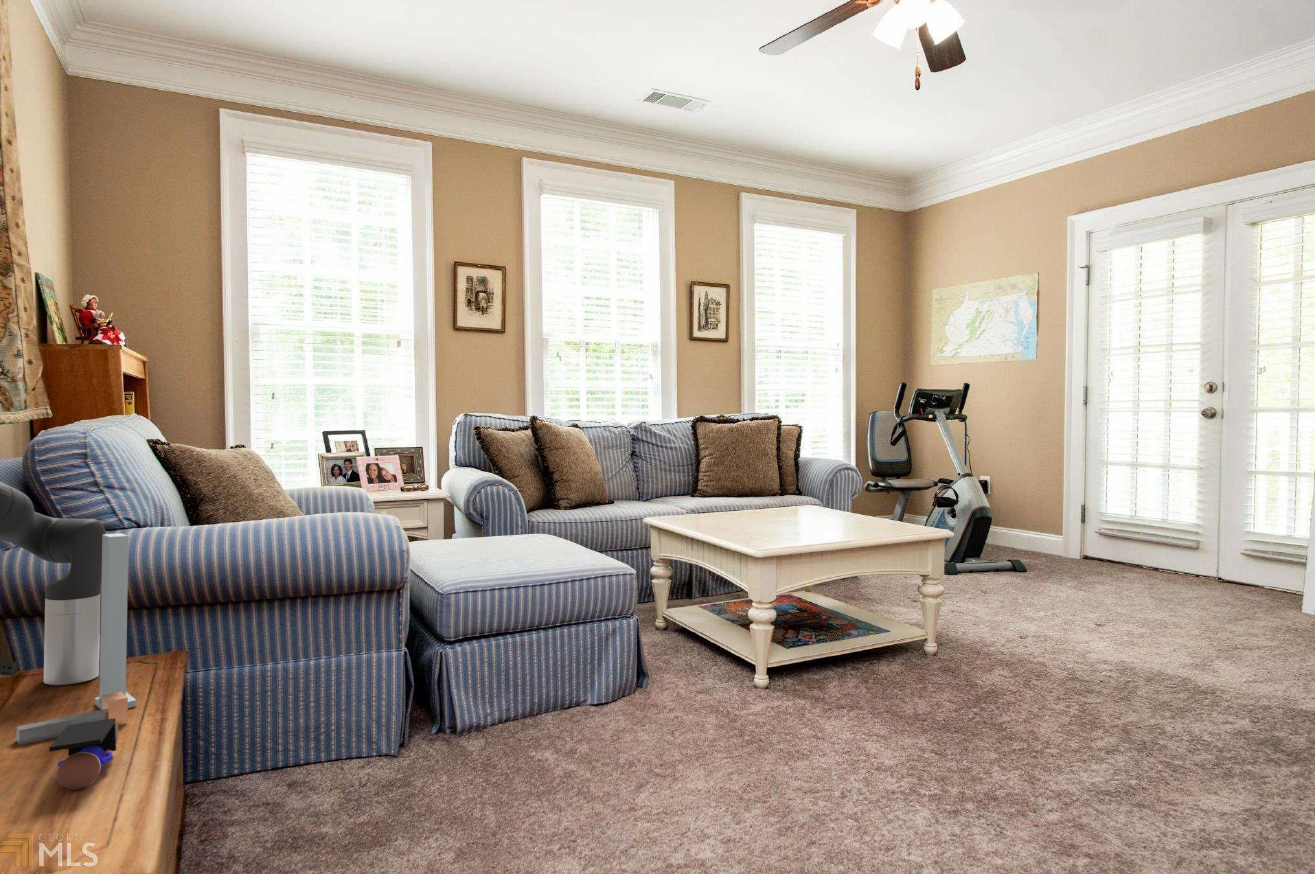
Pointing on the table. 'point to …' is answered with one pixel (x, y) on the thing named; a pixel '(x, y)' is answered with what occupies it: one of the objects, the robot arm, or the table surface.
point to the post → (114, 617)
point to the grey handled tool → (75, 720)
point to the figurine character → (85, 751)
